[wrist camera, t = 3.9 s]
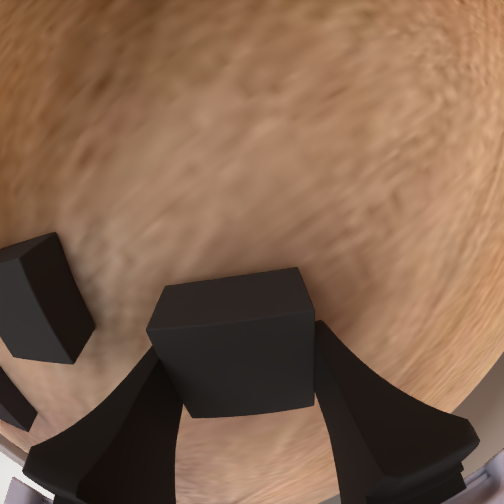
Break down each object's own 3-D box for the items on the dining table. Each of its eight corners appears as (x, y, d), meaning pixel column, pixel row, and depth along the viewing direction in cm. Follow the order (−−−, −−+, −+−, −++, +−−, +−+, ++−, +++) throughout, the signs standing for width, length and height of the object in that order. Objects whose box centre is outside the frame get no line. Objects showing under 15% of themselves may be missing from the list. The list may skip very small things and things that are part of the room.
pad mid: (303, 360, 12) (314, 406, 10) (197, 373, 12) (191, 418, 10) (297, 266, 10) (315, 308, 8) (164, 285, 10) (144, 329, 8)
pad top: (96, 327, 12) (74, 365, 9) (35, 328, 12) (13, 357, 9) (56, 231, 10) (18, 257, 7) (-1, 249, 10) (-32, 272, 7)
